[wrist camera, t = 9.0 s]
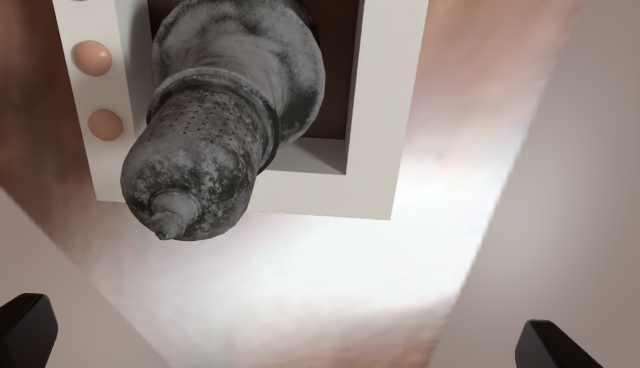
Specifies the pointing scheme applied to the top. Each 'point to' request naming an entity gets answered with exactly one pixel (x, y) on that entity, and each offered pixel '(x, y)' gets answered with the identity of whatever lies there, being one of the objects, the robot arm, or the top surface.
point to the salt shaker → (220, 111)
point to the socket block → (291, 161)
